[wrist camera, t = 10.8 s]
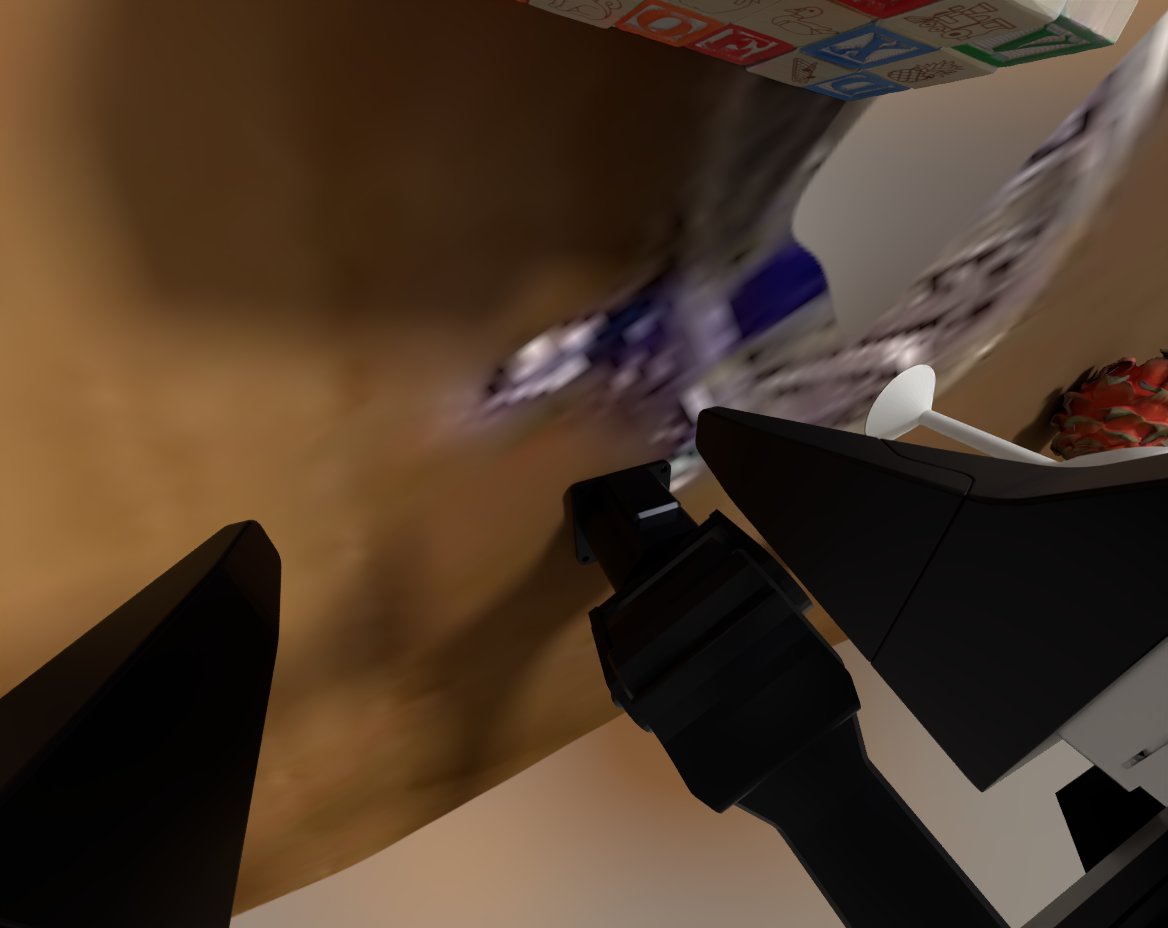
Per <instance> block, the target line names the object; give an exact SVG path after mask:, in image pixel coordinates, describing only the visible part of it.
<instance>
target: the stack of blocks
mask: <svg viewBox="0 0 1168 928" xmlns="http://www.w3.org/2000/svg"><path fill="white" fill-rule="evenodd" d="M516 1H519V2H524V3H528V4H530V5H532V6H535V7H538V8H541V9H543V10H546V11H549V12H551V13H555V14H558V15H561V16H564V17H568V18H571V19H574V20H577V21H581V22H584V23H587V24H591V25H594V26H597V27H600V28H604V29H606V28H609V27H611V26H613V27H617V28H618V29H620V30H623V31H627V32H631V33H634V34H640V35H642V36H644V37H646V38H650V39H653V40H656V41H660V42H663V43H666V44H669V45H672V46H675V47H681V46H684V47H686V48H689V49H692V50H695V51H698V52H700V53H703V54H706V55H710V56H713V57H716V58H720V59H723V60H725V61H729V62H732V63H735V64H739V65H744V66H745V68H746V70H747V71H748V72H752V73H755V74H758V75H761V76H764V77H767V78H770V79H774V80H777V81H780V82H783V83H786V84H789V85H792V86H797V87H803V88H805V89H808V90H811V91H815V92H817V93H821V94H824V95H828V96H831V97H834V98H838V99H841V100H844V101H853V100H858V99H863V98H867V97H872V96H879V95H884V94H888V93H893V92H900V91H904V90H908V89H910V88H914V89H917V88H923V87H927V86H933V85H938V84H944V83H950V82H954V81H959V80H963V79H969V78H974V77H979V76H984V75H988V74H991V73H994V72H995V71H996V70H997V68H998V67H1007V66H1013V65H1017V64H1023V63H1029V62H1033V61H1037V60H1042V59H1046V58H1051V57H1057V56H1062V55H1068V54H1074V53H1079V52H1082V51H1086V50H1091V49H1097V48H1101V47H1105V46H1109V45H1113V44H1114V43H1115V42H1116V40H1117V39H1118V37H1119V35H1120V34H1121V32H1122V30H1123V28H1124V26H1125V25H1126V23H1127V21H1128V19H1129V17H1130V16H1131V14H1132V12H1133V10H1134V8H1135V6H1136V4H1137V3H1138V1H1139V0H516Z"/></svg>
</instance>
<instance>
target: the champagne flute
mask: <svg viewBox="0 0 1168 928" xmlns="http://www.w3.org/2000/svg"><path fill="white" fill-rule="evenodd" d="M934 386H935V374H934V371H933V369H932V368H931V367H929V366H927V365H917V366H913V367H911V368H909V369H907V370H905V371H904V372H902V373H901V374H899V375H898V376H897V377H896V378H894V379H893V380H892V381H891V382H890V383H889V384H888V385H887V386H886V387H885V389H884V390H883V391H882V392H881V393H880V395H879V396H878V398H877V399H876V401H875V402H874V404H873V406H872V408H871V410H870V412H869V415H868V418H867V422H866V429H865V432H866V435H867V436H873V437H877V438H878V439H881V438H883V439H888V440H894V439H896V438H898V437H899V436H901V435H903V434H904V433H906V432H908V431H910V430H911V429H913V428H915V427H917V426H918V425H920V424H921V425H923V426H926V427H928V428H930V429H932V430H935V431H937V432H939V433H941V434H944V435H946V436H948V437H950V438H953V439H955V440H957V441H959V442H962V443H964V444H966V445H969V446H971V447H973V448H975V449H978V450H980V451H982V452H984V453H987V454H989V455H991V456H993V457H996V458H1000V459H1006V460H1012V461H1019V462H1025V463H1032V464H1038V465H1046V466H1054V467H1090V466H1100V465H1106V464H1112V463H1117V462H1122V461H1128V460H1133V459H1138V458H1143V457H1148V456H1154V455H1159V454H1164V453H1168V447H1154V446H1149V447H1134V448H1122V449H1117V450H1111V451H1106V452H1100V453H1095V454H1089V455H1084V456H1078V457H1075V458H1073V459H1070V460H1067V461H1064V462H1061V463H1059V462H1057V461H1054V460H1052V459H1050V458H1047V457H1045V456H1042V455H1040V454H1037V453H1035V452H1032V451H1030V450H1027V449H1025V448H1023V447H1020V446H1018V445H1015V444H1013V443H1010V442H1008V441H1005V440H1003V439H1000V438H998V437H996V436H993V435H991V434H988V433H986V432H983V431H981V430H978V429H976V428H973V427H971V426H969V425H966V424H964V423H961V422H959V421H956V420H954V419H951V418H949V417H946V416H944V415H942V414H939V413H937V412H934V411H932V410H931V407H932V400H933V393H934Z"/></svg>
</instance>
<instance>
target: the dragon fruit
mask: <svg viewBox="0 0 1168 928" xmlns="http://www.w3.org/2000/svg"><path fill="white" fill-rule="evenodd" d="M1160 351H1161V353H1162V354H1163V357H1156V358H1155V359H1151V360H1148V361H1147V362H1146V363H1145V364H1143V365H1141V366H1140V367H1138V366H1136V359H1134V358H1130V357H1124V358H1122V359H1121V360H1119V361H1118V360H1117V361H1118V362H1117V363H1115V362H1114V363H1113V365H1112V364H1111V365H1107V366H1106V367H1104V368H1103V369H1102V370H1101V371H1100V372H1099V373H1098V374H1097V375H1096V376H1095V377H1094V378H1092V379H1090V380H1087V381H1085V382H1084V383H1083V384H1082V386H1081V388H1080V391H1079V393H1077V392H1067V393H1065V394H1064V395H1063V397H1064V402H1063V407H1065V409H1066V410H1065V411H1061V412H1058V413H1056V414H1054V415H1053V417H1052V419H1051V422H1050V424H1051V426H1052V427H1054V428H1058V430H1059V431H1060V432H1061V433H1059V434H1058V435H1057V436H1056V437H1055V438H1054V439H1053V441H1052V444H1051V447H1050V449H1051V450H1052V451H1053V453H1054V454H1055V455H1056V456H1060V455H1061V456H1062V457H1063V458H1064V459H1066V460H1070V459H1073V458H1075V457H1078V456H1084V455H1089V454H1095V453H1100V452H1106V451H1111V450H1117V449H1122V448H1134V447H1149V446H1154V447H1167V445H1165V444H1164V443H1163V441H1164V440H1167V439H1168V350H1165V349H1160ZM1119 359H1120V358H1119ZM1118 366H1119V367H1118ZM1117 367H1118V368H1117ZM1115 368H1116V369H1115ZM1114 369H1115V370H1114ZM1112 370H1114V371H1112ZM1111 371H1112V372H1111ZM1110 372H1111V373H1110ZM1108 373H1109V374H1108ZM1105 374H1108V375H1105ZM1102 376H1103V377H1102ZM1101 377H1102V378H1101Z"/></svg>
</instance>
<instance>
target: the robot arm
mask: <svg viewBox="0 0 1168 928" xmlns="http://www.w3.org/2000/svg"><path fill="white" fill-rule="evenodd" d="M695 442H696V448H697V450H698V452H699V453H700V455H701V456H702V458H703V459H704V461H705V462H706V464H707V465H708V467H709V468H710V470H711V471H712V473H713V474H714V476H715V477H716V479H717V480H718V481H719V483H720V484H721V486H722V487H723V489H724V490H725V492H726V493H727V494H728V496H729V497H730V499H731V500H732V501H733V502H734V503H735V505H736V506H737V507H738V508H739V509H740V511H741V512H742V513H743V514H744V515H745V517H746V518H747V519H748V520H749V521H750V522H751V524H752V525H753V526H754V527H755V528H756V529H757V531H758V532H759V533H760V534H761V535H762V537H763V538H764V539H765V540H766V541H767V542H768V544H769V545H770V546H771V547H772V548H773V550H774V551H775V552H776V553H777V554H778V555H779V557H780V558H781V559H782V560H783V561H784V562H785V564H786V565H787V566H788V567H789V568H790V570H791V571H792V572H793V573H794V574H795V575H796V577H797V578H798V579H799V580H800V581H801V582H802V584H803V585H804V586H805V587H806V588H807V590H808V591H809V592H810V593H811V594H812V595H813V597H814V598H815V599H816V600H817V601H818V602H819V604H820V605H821V606H822V607H823V608H824V610H825V611H826V612H827V613H828V614H829V615H830V617H831V618H832V619H833V620H834V621H835V623H836V624H837V625H838V626H839V627H840V628H841V630H842V631H843V632H844V633H845V634H846V635H847V637H848V638H849V639H850V640H851V641H852V643H853V644H854V645H855V646H856V647H857V648H858V649H859V651H860V652H861V653H862V654H863V655H864V657H865V658H866V659H867V660H868V661H869V662H871V665H872V666H873V668H874V669H875V670H876V671H877V672H878V673H879V675H880V676H881V677H882V678H883V679H884V681H885V682H886V683H887V684H888V685H889V687H890V688H891V689H892V690H893V691H894V692H895V693H896V695H897V696H898V697H899V698H900V699H901V700H902V702H903V703H904V704H905V705H906V706H907V708H908V709H909V710H910V711H911V712H912V714H913V715H914V716H915V717H916V718H917V719H918V721H919V722H920V723H921V724H922V725H923V727H924V728H925V729H926V730H927V731H928V732H929V734H930V735H931V736H932V737H933V738H934V740H935V741H936V742H937V743H938V744H939V745H940V747H941V748H942V749H943V750H944V751H945V752H946V754H947V755H948V756H949V757H950V758H951V760H952V761H953V762H954V763H955V764H956V766H958V768H959V769H960V770H961V771H962V772H963V774H964V775H965V776H966V777H967V778H968V779H969V780H970V782H971V783H972V784H973V785H974V786H975V787H976V788H977V789H978V790H980V791H981V792H984V791H986V790H987V789H989V788H990V787H992V786H993V785H995V784H996V783H998V782H999V781H1001V780H1002V779H1004V778H1005V777H1007V776H1008V775H1010V774H1011V773H1013V772H1014V771H1016V770H1017V769H1019V768H1020V767H1022V766H1023V765H1025V764H1026V763H1028V762H1029V761H1031V760H1032V759H1033V758H1035V757H1037V756H1038V755H1040V754H1041V753H1043V752H1044V751H1046V750H1047V749H1049V748H1050V747H1051V746H1053V745H1054V744H1056V743H1057V742H1059V741H1060V740H1062V739H1063V740H1065V741H1066V742H1067V743H1068V744H1069V745H1071V746H1072V747H1073V748H1074V749H1076V750H1077V751H1078V752H1079V753H1081V754H1082V755H1083V756H1084V757H1086V758H1087V759H1088V760H1089V761H1090V762H1092V763H1093V764H1094V766H1092V767H1091V768H1090V769H1089V770H1087V771H1086V772H1084V773H1083V774H1081V775H1080V776H1079V777H1077V778H1076V779H1074V780H1073V781H1072V782H1070V783H1069V784H1067V785H1066V786H1065V787H1063V788H1062V789H1061V790H1059V791H1058V792H1056V793H1055V794H1056V796H1057V799H1058V802H1059V805H1060V807H1061V810H1062V812H1063V815H1064V817H1065V820H1066V823H1067V826H1068V828H1069V831H1070V833H1071V836H1072V839H1073V841H1074V844H1075V846H1076V849H1077V852H1078V854H1079V857H1080V860H1081V862H1082V865H1083V867H1084V870H1085V872H1086V874H1085V875H1084V876H1083V877H1082V878H1080V879H1079V880H1078V881H1077V882H1075V883H1074V884H1073V885H1072V886H1071V887H1069V888H1068V889H1067V890H1066V891H1065V892H1063V893H1062V894H1061V895H1060V896H1059V897H1057V898H1056V899H1055V900H1054V901H1053V902H1051V903H1050V904H1049V905H1048V906H1047V907H1045V908H1044V909H1043V910H1042V911H1041V912H1039V913H1038V914H1037V915H1036V916H1035V917H1033V918H1032V919H1031V920H1030V921H1028V922H1027V923H1026V924H1025V925H1024V926H1022V927H1021V928H1168V453H1164V454H1159V455H1154V456H1148V457H1143V458H1138V459H1133V460H1128V461H1122V462H1117V463H1112V464H1106V465H1100V466H1090V467H1054V466H1046V465H1038V464H1032V463H1025V462H1019V461H1012V460H1006V459H1000V458H993V457H987V456H980V455H974V454H967V453H961V452H955V451H949V450H943V449H937V448H931V447H926V446H920V445H915V444H909V443H904V442H899V441H893V440H888V439H883V438H881V439H878V438H877V437H873V436H867V435H862V434H857V433H852V432H847V431H842V430H837V429H832V428H826V427H821V426H816V425H811V424H806V423H801V422H796V421H791V420H785V419H780V418H775V417H770V416H765V415H760V414H755V413H750V412H744V411H739V410H734V409H729V408H724V407H719V406H716V407H711V408H707V409H703V410H702V411H700V413H699V415H698V421H697V430H696V440H695ZM662 467H664V468H663V469H661V468H662ZM670 475H671V465H670V464H669V463H668V462H667V461H666V460H659V461H655V462H651V463H647V464H644V465H640V466H636V467H632V468H629V469H625V470H621V471H618V472H614V473H610V474H607V475H603V476H599V477H596V478H592V479H588V480H585V481H581V482H578V483H575V484H574V485H573V486H572V488H571V500H572V511H573V523H574V535H575V546H576V557H577V560H578V562H579V563H580V564H581V565H586V564H589V563H592V562H595V561H598V562H599V564H600V566H601V568H602V569H603V571H604V573H605V575H606V576H607V578H608V580H609V582H610V583H611V585H612V587H613V589H614V591H615V592H616V593H615V594H614V595H612V596H611V597H610V598H609V599H608V600H606V601H605V602H604V603H603V604H601V605H600V606H599V607H597V606H596V607H595V608H594V609H592V610H591V611H590V612H589V613H588V614H589V618H590V621H591V625H592V626H591V629H592V633H593V636H594V640H595V644H596V647H597V651H598V655H599V658H600V662H601V666H602V669H603V673H604V677H605V680H606V684H607V686H608V688H609V690H610V691H611V698H612V701H613V703H614V704H615V705H616V707H618V708H620V709H623V710H625V711H626V712H627V713H628V715H629V716H630V717H631V718H632V719H633V721H634V722H635V723H636V724H637V725H638V726H640V727H641V728H642V729H643V730H645V731H646V732H650V733H652V732H654V734H655V735H656V736H657V738H658V739H659V741H660V742H661V744H662V745H663V747H664V748H665V750H666V752H667V753H668V755H669V757H670V758H671V760H672V761H673V763H674V765H675V766H676V768H677V770H678V772H679V773H680V775H681V777H682V778H683V780H684V782H685V784H686V785H687V787H688V789H689V790H690V792H691V793H692V794H693V795H694V796H695V797H696V798H698V799H699V800H701V801H702V802H703V803H705V804H706V805H708V806H709V807H710V808H711V809H713V810H714V811H716V812H718V813H723V812H724V811H725V810H727V809H728V808H729V807H731V806H732V805H736V806H737V807H739V808H741V809H743V810H744V811H747V812H748V813H750V814H752V815H754V816H756V817H757V818H759V819H761V820H763V821H765V822H767V823H768V824H770V825H772V826H773V827H775V828H776V829H777V831H778V832H779V833H780V835H781V836H782V837H783V839H784V840H785V841H786V843H787V844H788V845H789V847H790V848H791V850H792V851H793V853H794V854H795V855H796V857H797V858H798V860H799V861H800V863H801V864H802V865H803V867H804V868H805V870H806V871H807V873H808V874H809V875H810V877H811V878H812V880H813V881H814V883H815V884H816V886H817V887H818V888H819V890H820V891H821V893H822V894H823V896H824V897H825V898H826V900H827V901H828V903H829V904H830V906H831V907H832V908H833V910H834V911H835V913H836V914H837V915H838V917H839V918H840V920H841V921H842V923H843V924H844V925H845V927H846V928H1011V927H1010V926H1009V925H1008V924H1007V923H1006V921H1005V920H1004V919H1003V918H1002V917H1001V916H1000V914H999V913H998V912H997V911H996V910H995V909H994V907H993V906H992V905H991V904H990V902H989V901H988V900H987V899H986V898H985V896H984V895H983V894H982V893H981V892H980V891H979V889H978V888H977V887H976V886H975V885H974V883H973V882H972V881H971V880H970V879H969V877H968V876H967V875H966V874H965V873H964V872H963V870H962V869H961V868H960V867H959V866H958V864H957V863H956V862H955V861H954V860H953V859H952V857H951V856H950V855H949V854H948V852H947V851H946V850H945V849H944V848H943V847H942V845H941V844H940V843H939V842H938V841H937V839H936V838H935V837H934V836H933V835H932V833H931V832H930V831H929V830H928V829H927V827H926V826H925V825H924V824H923V823H922V822H921V820H920V819H919V818H918V817H917V816H916V814H915V813H914V812H913V811H912V810H911V808H910V807H909V806H908V805H907V804H906V802H905V801H904V800H903V799H902V798H901V797H900V796H899V794H898V793H897V792H896V791H895V789H894V788H893V787H892V786H891V785H890V783H889V782H888V781H887V780H886V779H885V778H884V776H883V775H882V774H881V773H880V772H879V770H878V769H877V768H876V767H875V766H874V765H873V763H872V762H871V761H870V760H869V758H868V756H867V752H866V749H865V745H864V741H863V737H862V733H861V729H860V725H859V721H858V717H857V713H856V712H857V711H859V710H860V709H861V705H860V701H859V698H858V695H857V692H856V689H855V686H854V683H853V680H852V678H851V675H850V674H849V672H848V671H847V669H846V668H845V666H844V663H843V661H842V659H841V658H840V656H839V655H838V654H837V652H836V651H835V650H834V649H833V648H832V647H831V646H830V644H829V643H828V642H827V641H826V640H825V639H824V638H823V637H822V635H821V634H820V633H819V632H818V631H817V630H816V629H815V627H814V626H813V625H812V624H811V623H810V622H809V621H808V619H807V618H806V617H805V616H804V614H805V613H806V612H808V611H809V610H810V609H812V608H813V607H814V606H813V604H812V602H811V600H810V599H809V597H808V596H807V595H806V593H805V592H804V591H803V590H802V588H801V587H800V586H799V585H798V584H797V582H796V581H795V580H794V579H793V578H792V577H791V576H790V574H789V573H788V572H787V571H786V570H785V569H784V568H783V567H782V566H781V565H780V564H779V563H778V562H777V561H776V560H775V559H774V558H773V557H772V556H771V555H770V554H769V553H768V552H767V551H766V550H765V549H764V548H763V547H762V546H761V545H759V544H758V543H757V542H756V541H755V540H753V539H752V538H751V537H750V536H749V535H747V534H746V533H745V532H744V531H743V530H741V529H740V528H739V527H738V526H737V525H735V524H734V523H733V522H732V521H731V520H729V519H728V518H727V517H726V516H725V515H723V514H722V513H721V512H720V511H719V510H717V509H716V510H715V511H714V512H712V513H711V514H710V515H709V518H708V519H707V520H705V521H704V522H703V523H702V524H700V525H698V524H697V523H696V522H695V521H694V520H693V519H692V518H691V517H690V516H689V514H688V513H687V512H686V511H685V510H684V509H683V508H682V507H681V503H680V502H679V501H678V500H677V499H676V498H675V496H674V495H673V494H672V493H671V492H670V491H669V488H670ZM580 489H582V491H581V492H579V493H577V492H578V491H579V490H580ZM585 556H586V557H585ZM280 592H281V559H280V556H279V553H278V551H277V550H276V548H275V547H274V545H273V543H272V542H271V540H270V539H269V537H268V536H267V534H266V532H265V531H264V529H263V528H262V526H261V525H260V524H259V523H258V522H257V521H255V520H247V521H242V522H238V523H234V524H230V525H227V526H225V527H223V528H222V529H221V530H220V531H218V532H217V533H216V534H214V535H213V536H212V537H210V538H209V539H208V540H206V541H205V542H204V543H203V544H201V545H200V546H199V547H197V548H196V549H195V550H193V551H192V552H191V553H190V554H188V555H187V556H186V557H184V558H183V559H182V560H180V561H179V562H178V563H176V564H175V565H174V566H173V567H171V568H170V569H169V570H167V571H166V572H165V573H163V574H162V575H161V576H160V577H158V578H157V579H156V580H154V581H153V582H152V583H150V584H149V585H148V586H146V587H145V588H144V589H143V590H141V591H140V592H139V593H137V594H136V595H135V596H133V597H132V598H131V599H130V600H128V601H127V602H126V603H124V604H123V605H122V606H120V607H119V608H118V609H116V610H115V611H114V612H113V613H111V614H110V615H109V616H107V617H106V618H105V619H103V620H102V621H101V622H100V623H98V624H97V625H96V626H94V627H93V628H92V629H90V630H89V631H88V632H86V633H85V634H84V635H83V636H81V637H80V638H79V639H77V640H76V641H75V642H73V643H72V644H71V645H70V646H68V647H67V648H66V649H64V650H63V651H62V652H60V653H59V654H58V655H56V656H55V657H54V658H53V659H51V660H50V661H49V662H47V663H46V664H45V665H43V666H42V667H41V668H40V669H38V670H37V671H36V672H34V673H33V674H32V675H30V676H29V677H28V678H26V679H25V680H24V681H23V682H21V683H20V684H19V685H17V686H16V687H15V688H13V689H12V690H11V691H10V692H8V693H7V694H6V695H4V696H3V697H2V698H0V928H229V926H230V920H231V915H232V909H233V903H234V897H235V891H236V886H237V880H238V874H239V868H240V862H241V857H242V851H243V845H244V839H245V833H246V828H247V822H248V816H249V810H250V804H251V799H252V793H253V787H254V781H255V775H256V770H257V764H258V758H259V752H260V746H261V741H262V735H263V729H264V723H265V717H266V712H267V706H268V700H269V694H270V689H271V683H272V677H273V671H274V665H275V660H276V654H277V647H278V639H279V622H280Z"/></svg>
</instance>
